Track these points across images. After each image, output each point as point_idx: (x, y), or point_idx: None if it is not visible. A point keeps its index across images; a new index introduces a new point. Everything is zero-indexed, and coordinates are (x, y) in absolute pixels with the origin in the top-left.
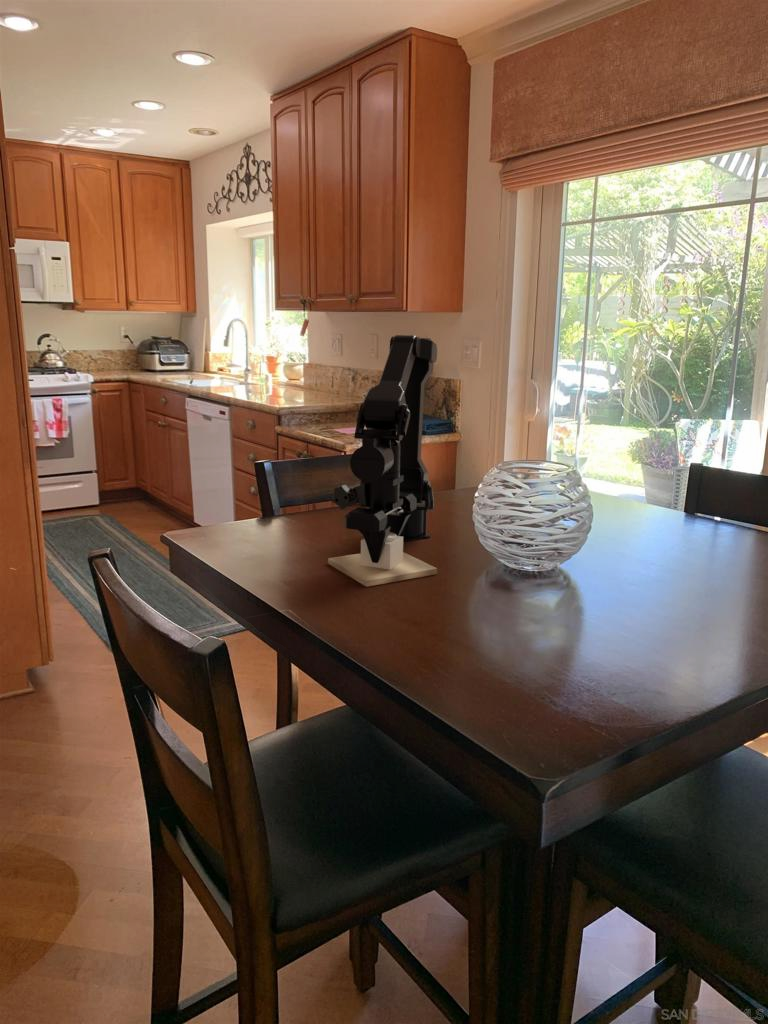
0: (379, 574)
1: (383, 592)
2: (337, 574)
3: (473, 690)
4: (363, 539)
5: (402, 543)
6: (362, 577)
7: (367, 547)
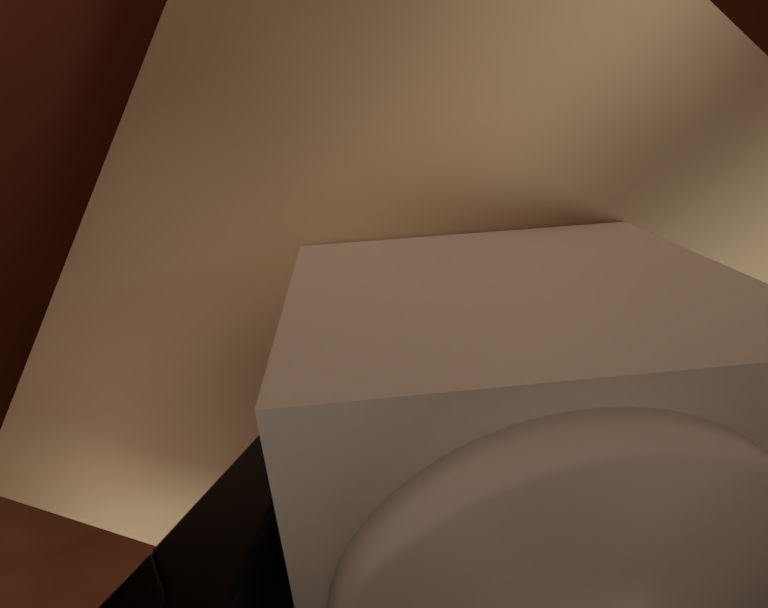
0: (186, 487)
1: (41, 553)
2: (104, 60)
3: None
4: (340, 419)
5: None
6: (16, 429)
7: (178, 522)
